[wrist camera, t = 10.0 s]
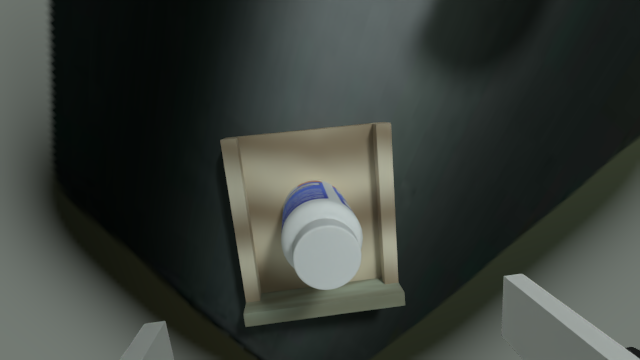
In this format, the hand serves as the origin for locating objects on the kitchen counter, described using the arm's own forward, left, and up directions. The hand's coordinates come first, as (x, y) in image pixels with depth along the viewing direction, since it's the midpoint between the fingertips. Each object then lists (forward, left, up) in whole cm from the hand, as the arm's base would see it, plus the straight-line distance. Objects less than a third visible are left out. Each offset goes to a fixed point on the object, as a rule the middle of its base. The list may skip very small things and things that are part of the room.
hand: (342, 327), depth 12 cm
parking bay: (0, 0, -17) cm, 17 cm away
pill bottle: (0, 0, -16) cm, 16 cm away
